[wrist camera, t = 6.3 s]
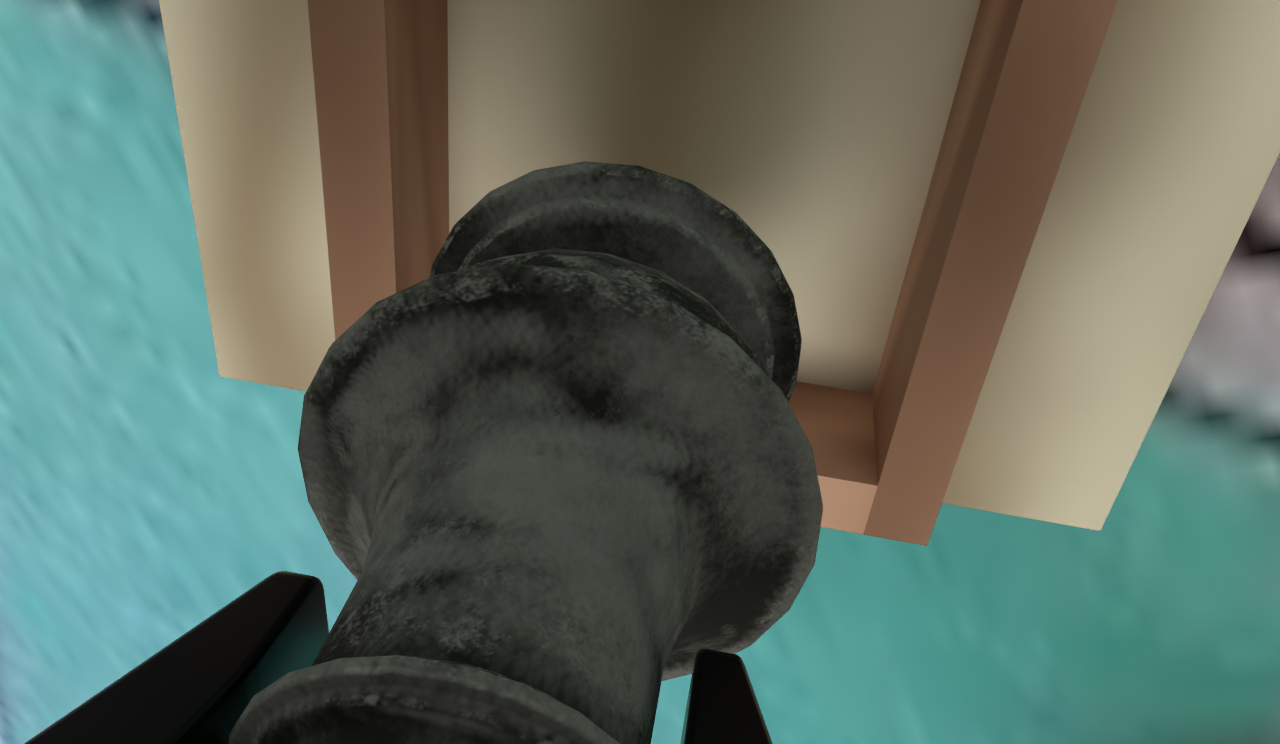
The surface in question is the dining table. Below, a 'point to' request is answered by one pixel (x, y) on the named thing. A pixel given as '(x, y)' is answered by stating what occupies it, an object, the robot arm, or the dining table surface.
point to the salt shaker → (554, 472)
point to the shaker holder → (777, 197)
